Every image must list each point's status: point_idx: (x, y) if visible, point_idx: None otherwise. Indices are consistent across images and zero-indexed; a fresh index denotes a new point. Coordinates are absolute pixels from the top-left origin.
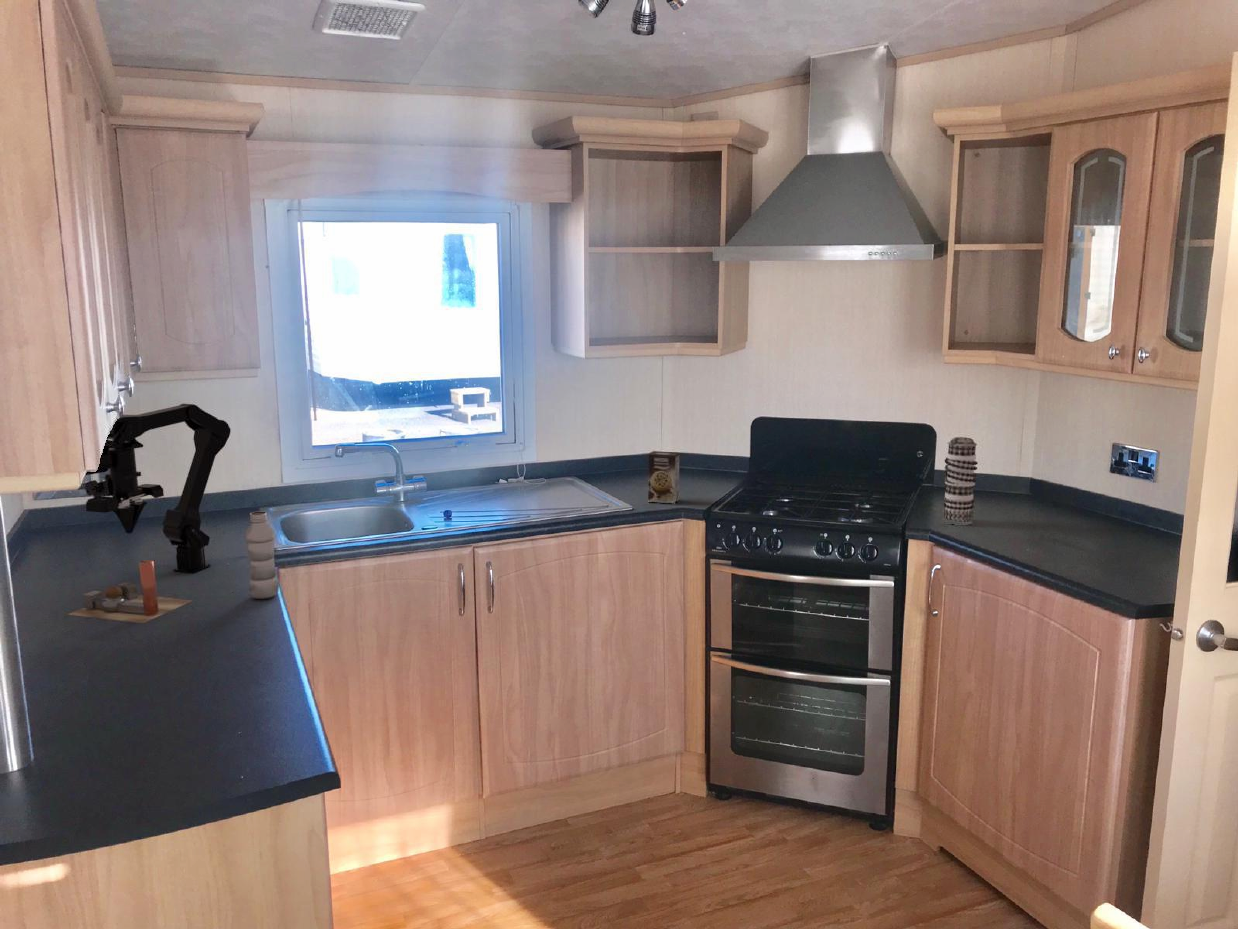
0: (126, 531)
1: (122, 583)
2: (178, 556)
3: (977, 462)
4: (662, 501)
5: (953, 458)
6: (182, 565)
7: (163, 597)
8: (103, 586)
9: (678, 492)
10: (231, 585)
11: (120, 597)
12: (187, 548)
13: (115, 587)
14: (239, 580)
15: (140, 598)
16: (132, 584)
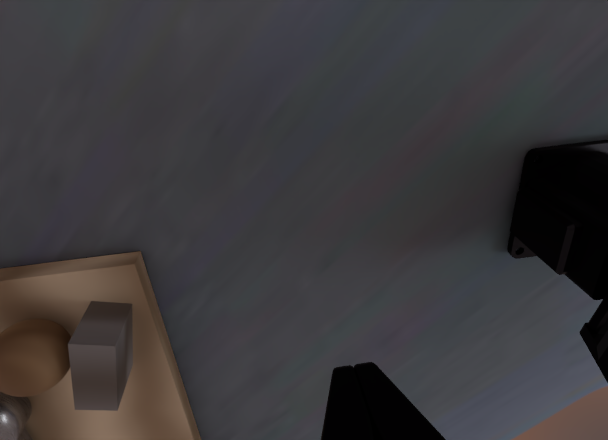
0: (330, 394)
1: (96, 348)
2: (559, 236)
3: None
4: None
5: None
6: (525, 230)
7: (186, 419)
8: (216, 6)
9: None
10: None
11: (4, 438)
12: (599, 297)
13: (20, 395)
14: (454, 416)
15: (134, 375)
16: (115, 390)
